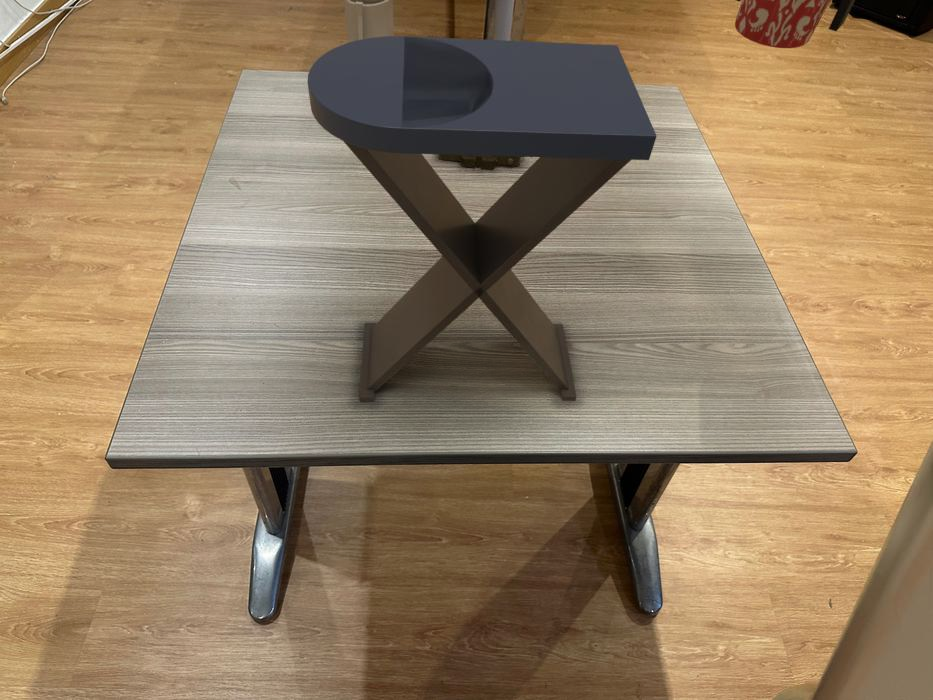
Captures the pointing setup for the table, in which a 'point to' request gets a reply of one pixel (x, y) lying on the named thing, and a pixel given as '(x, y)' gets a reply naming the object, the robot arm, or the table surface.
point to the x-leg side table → (485, 134)
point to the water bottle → (368, 19)
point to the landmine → (483, 160)
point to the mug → (779, 21)
